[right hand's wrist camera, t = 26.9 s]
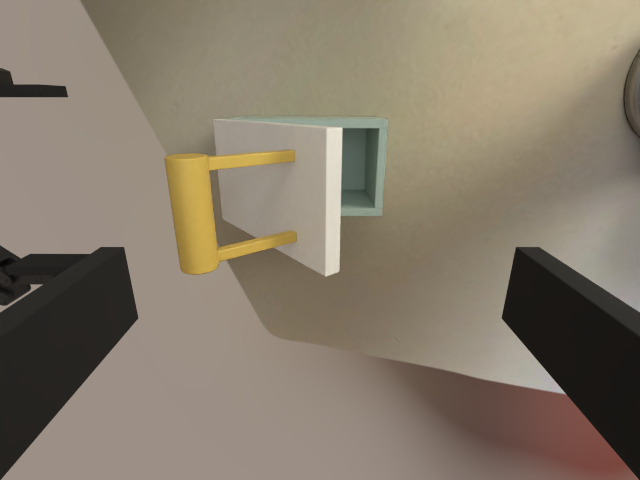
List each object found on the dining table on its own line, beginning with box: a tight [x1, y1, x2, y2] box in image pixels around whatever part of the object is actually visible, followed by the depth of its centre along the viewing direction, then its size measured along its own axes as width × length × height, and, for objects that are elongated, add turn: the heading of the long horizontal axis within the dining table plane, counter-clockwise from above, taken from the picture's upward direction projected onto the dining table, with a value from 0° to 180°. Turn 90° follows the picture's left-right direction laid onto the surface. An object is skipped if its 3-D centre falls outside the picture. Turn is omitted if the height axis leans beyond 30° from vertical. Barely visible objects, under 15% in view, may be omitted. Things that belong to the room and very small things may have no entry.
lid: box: [165, 119, 342, 277], centre depth 26 cm, size 16×9×9 cm
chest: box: [225, 116, 388, 216], centre depth 39 cm, size 15×9×10 cm, turn 90°
